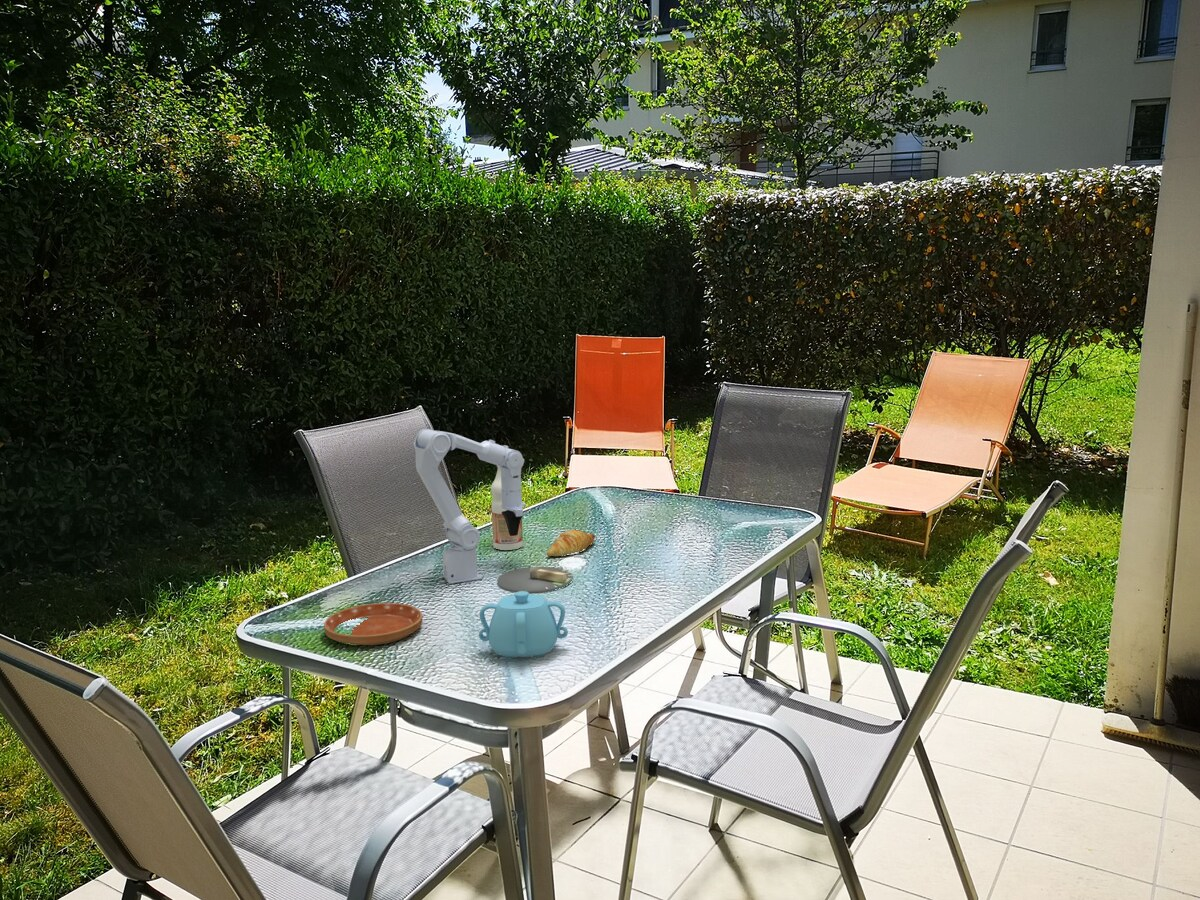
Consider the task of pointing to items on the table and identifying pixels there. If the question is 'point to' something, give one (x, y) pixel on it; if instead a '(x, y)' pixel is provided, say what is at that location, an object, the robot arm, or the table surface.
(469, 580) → the robot arm
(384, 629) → the saucer
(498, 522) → the fruit juice
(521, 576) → the dial
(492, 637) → the decorative pot
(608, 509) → the table surface
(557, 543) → the croissant
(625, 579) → the table surface
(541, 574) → the pointer
